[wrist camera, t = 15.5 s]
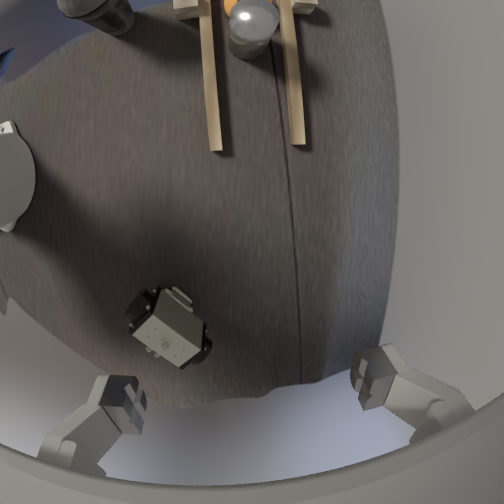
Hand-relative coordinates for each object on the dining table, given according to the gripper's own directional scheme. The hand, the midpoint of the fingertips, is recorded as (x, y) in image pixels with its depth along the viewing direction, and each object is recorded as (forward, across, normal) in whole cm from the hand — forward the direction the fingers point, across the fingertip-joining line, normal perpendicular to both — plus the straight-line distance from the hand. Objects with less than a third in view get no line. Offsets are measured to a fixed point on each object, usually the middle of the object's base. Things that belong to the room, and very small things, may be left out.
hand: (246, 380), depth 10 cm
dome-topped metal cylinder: (+31, -4, -21) cm, 38 cm away
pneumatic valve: (+31, +10, +15) cm, 36 cm away
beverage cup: (+31, +13, -28) cm, 44 cm away
